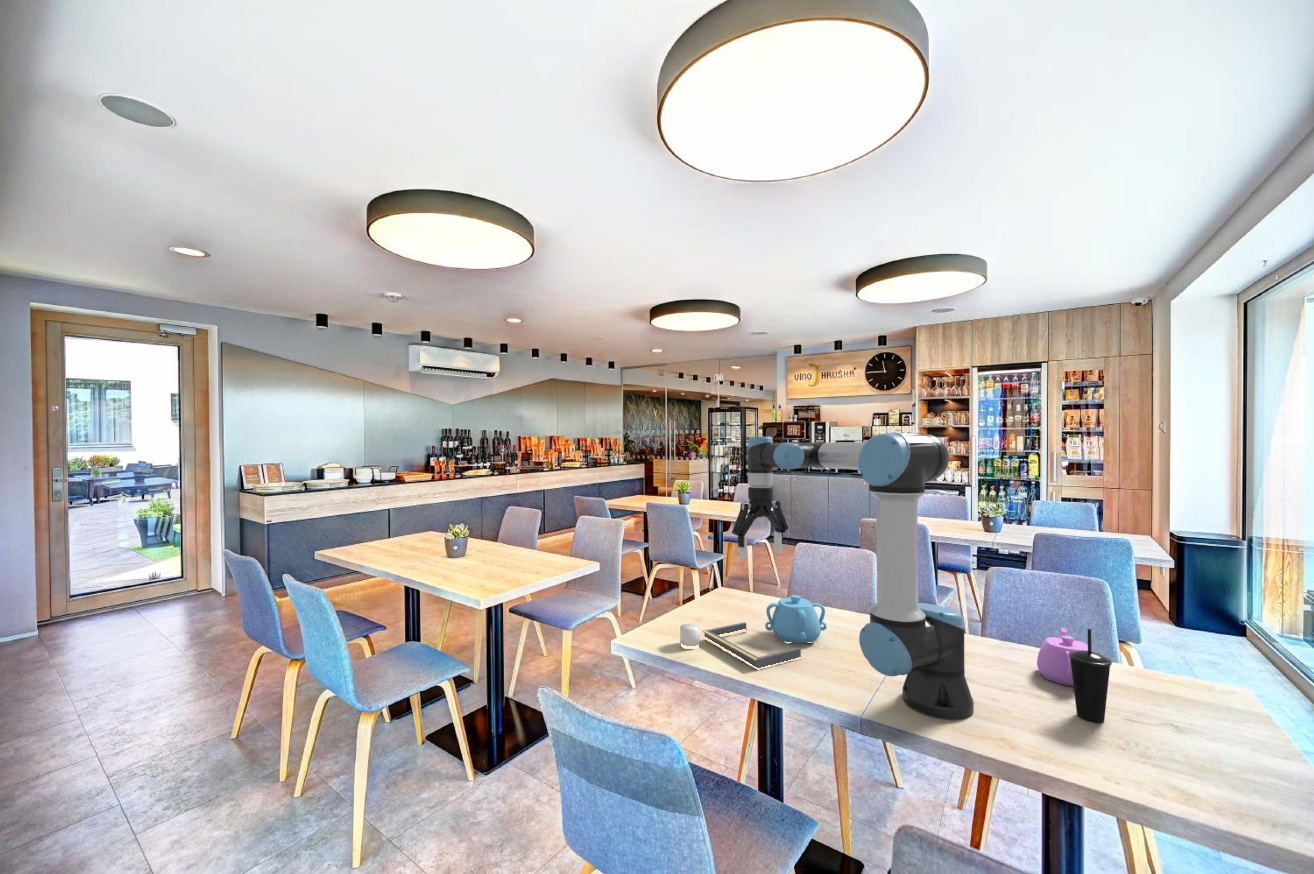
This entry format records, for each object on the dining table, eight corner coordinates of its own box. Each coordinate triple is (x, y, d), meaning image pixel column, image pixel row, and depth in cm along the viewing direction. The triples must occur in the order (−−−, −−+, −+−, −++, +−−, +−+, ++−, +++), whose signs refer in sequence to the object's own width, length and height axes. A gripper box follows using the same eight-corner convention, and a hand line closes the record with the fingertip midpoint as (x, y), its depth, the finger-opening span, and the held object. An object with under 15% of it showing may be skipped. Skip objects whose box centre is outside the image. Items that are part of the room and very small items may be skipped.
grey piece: (800, 659, 156) (800, 647, 156) (755, 671, 148) (755, 659, 148) (744, 631, 179) (744, 621, 179) (702, 640, 171) (702, 630, 171)
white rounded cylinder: (703, 647, 165) (703, 628, 165) (686, 651, 162) (686, 631, 162) (691, 640, 171) (691, 621, 171) (675, 644, 168) (675, 625, 168)
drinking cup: (1115, 730, 117) (1114, 637, 117) (1071, 720, 121) (1070, 631, 121) (1109, 715, 123) (1108, 627, 123) (1067, 706, 127) (1066, 621, 127)
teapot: (1093, 669, 148) (1092, 629, 148) (1107, 699, 130) (1107, 653, 131) (1033, 659, 154) (1033, 621, 155) (1040, 687, 137) (1039, 643, 137)
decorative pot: (833, 640, 171) (832, 597, 171) (800, 652, 161) (800, 606, 161) (791, 626, 184) (791, 586, 184) (759, 636, 174) (759, 594, 174)
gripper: (782, 483, 176) (783, 549, 176) (720, 487, 164) (720, 557, 163) (799, 485, 169) (799, 553, 169) (735, 489, 157) (736, 562, 157)
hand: (761, 555), depth 166 cm, fingers open, 13 cm apart
